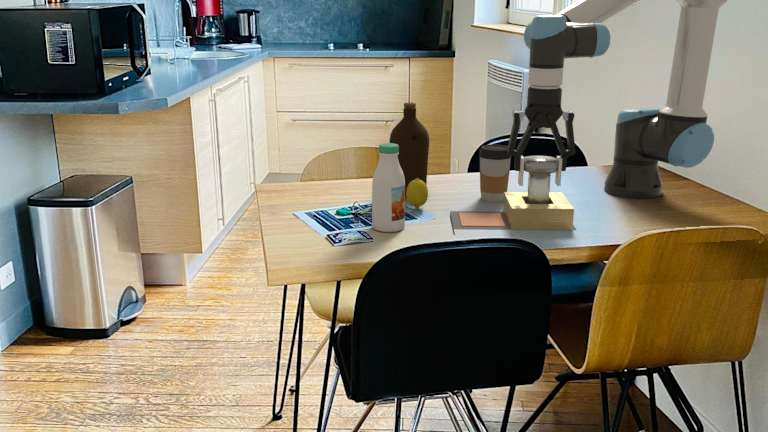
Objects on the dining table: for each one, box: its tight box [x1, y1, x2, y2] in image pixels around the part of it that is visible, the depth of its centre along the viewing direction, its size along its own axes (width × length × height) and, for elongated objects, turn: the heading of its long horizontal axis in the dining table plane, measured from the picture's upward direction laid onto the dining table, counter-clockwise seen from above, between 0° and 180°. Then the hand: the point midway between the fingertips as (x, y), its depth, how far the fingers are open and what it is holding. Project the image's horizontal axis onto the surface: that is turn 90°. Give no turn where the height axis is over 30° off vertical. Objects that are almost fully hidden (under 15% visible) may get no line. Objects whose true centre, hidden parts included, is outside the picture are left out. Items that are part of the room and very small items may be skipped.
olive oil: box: [389, 101, 430, 200], centre depth 202 cm, size 11×11×25 cm
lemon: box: [406, 178, 429, 209], centre depth 192 cm, size 6×6×8 cm
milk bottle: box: [371, 142, 406, 233], centre depth 175 cm, size 8×8×20 cm
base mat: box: [449, 210, 577, 236], centre depth 179 cm, size 28×14×2 cm, turn 89°
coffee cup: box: [478, 144, 512, 203], centre depth 195 cm, size 8×8×15 cm
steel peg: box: [523, 155, 558, 204], centre depth 176 cm, size 8×8×14 cm
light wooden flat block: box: [502, 191, 575, 231], centre depth 178 cm, size 14×14×5 cm
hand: (539, 184), depth 176 cm, fingers closed on steel peg, 8 cm apart
